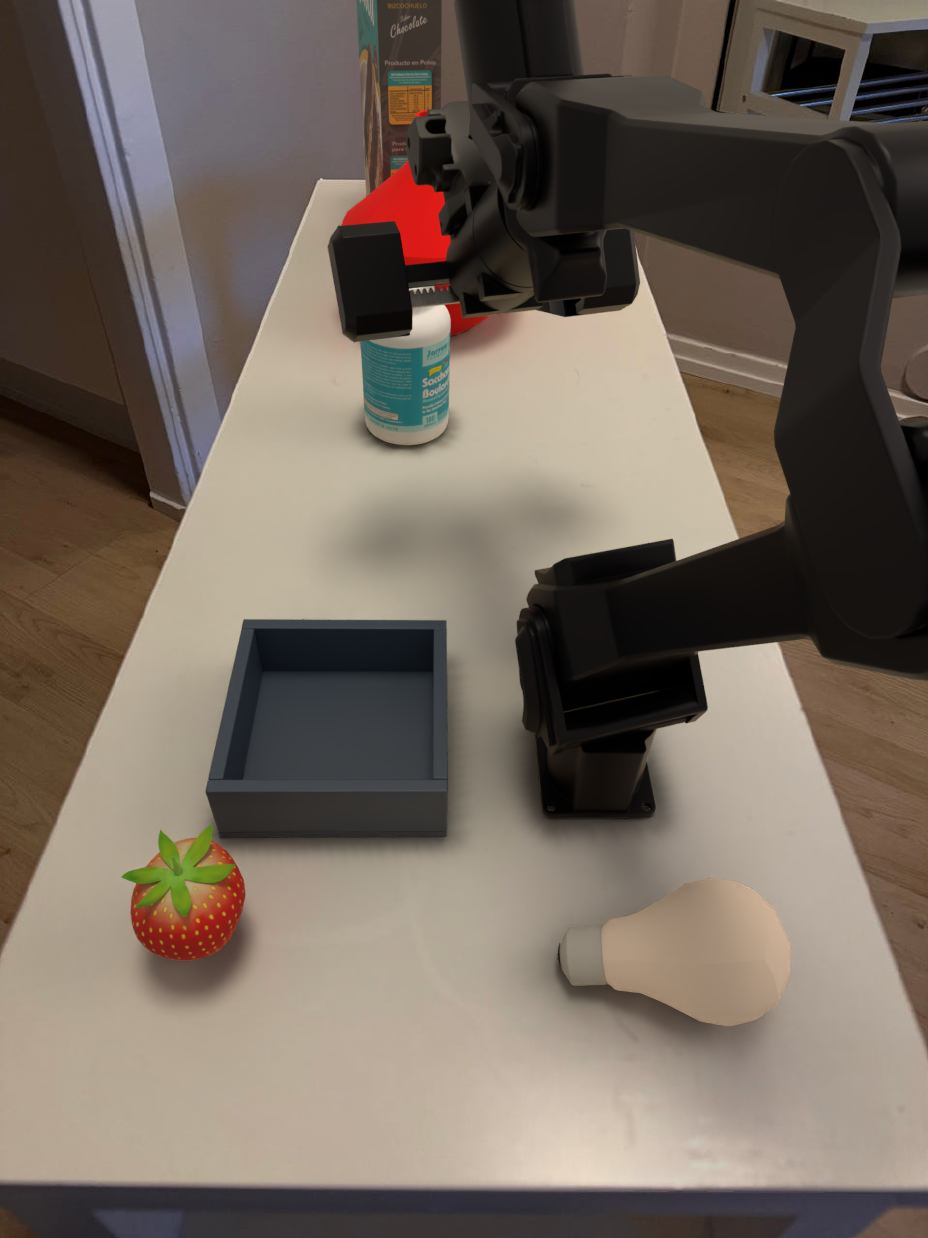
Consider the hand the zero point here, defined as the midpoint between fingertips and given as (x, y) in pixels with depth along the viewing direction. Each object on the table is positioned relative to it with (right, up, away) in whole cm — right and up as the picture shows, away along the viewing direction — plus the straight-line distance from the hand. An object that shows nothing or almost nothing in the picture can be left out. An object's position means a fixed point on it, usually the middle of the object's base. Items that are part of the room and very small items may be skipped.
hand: (456, 303), depth 61 cm
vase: (-3, +10, +31) cm, 33 cm away
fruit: (-13, -39, -17) cm, 44 cm away
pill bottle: (-5, -5, +17) cm, 18 cm away
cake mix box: (-7, +24, +45) cm, 51 cm away
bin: (-7, -30, -8) cm, 32 cm away
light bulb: (+10, -40, -17) cm, 45 cm away
